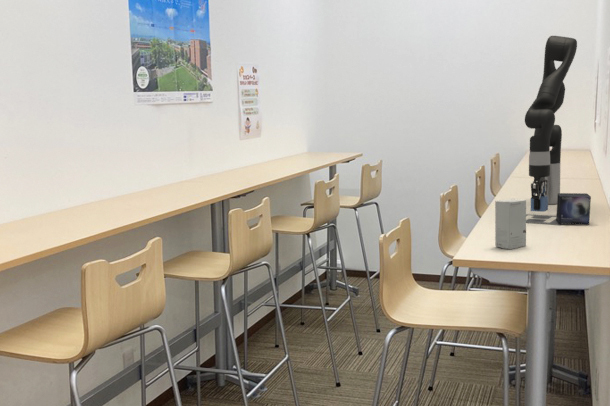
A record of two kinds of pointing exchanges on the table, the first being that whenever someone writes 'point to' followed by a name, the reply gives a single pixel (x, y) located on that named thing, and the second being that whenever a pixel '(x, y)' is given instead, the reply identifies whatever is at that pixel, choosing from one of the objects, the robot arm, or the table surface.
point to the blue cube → (541, 204)
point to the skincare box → (510, 223)
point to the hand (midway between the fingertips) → (539, 208)
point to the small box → (573, 208)
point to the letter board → (541, 219)
